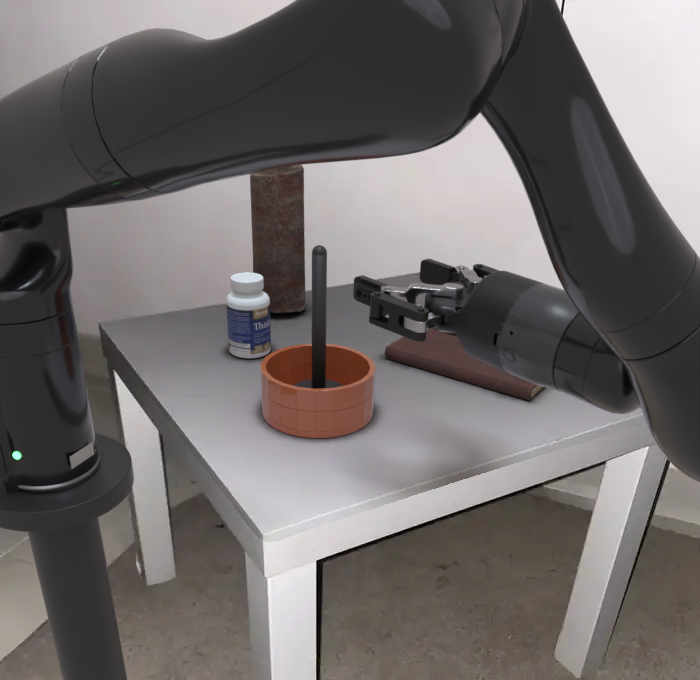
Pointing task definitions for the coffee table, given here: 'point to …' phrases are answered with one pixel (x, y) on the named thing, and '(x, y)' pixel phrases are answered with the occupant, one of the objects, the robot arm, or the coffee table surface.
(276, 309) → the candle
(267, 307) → the pill bottle
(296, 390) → the bowl
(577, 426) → the coffee table surface
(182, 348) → the coffee table surface
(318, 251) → the paper towel holder
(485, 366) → the notebook
